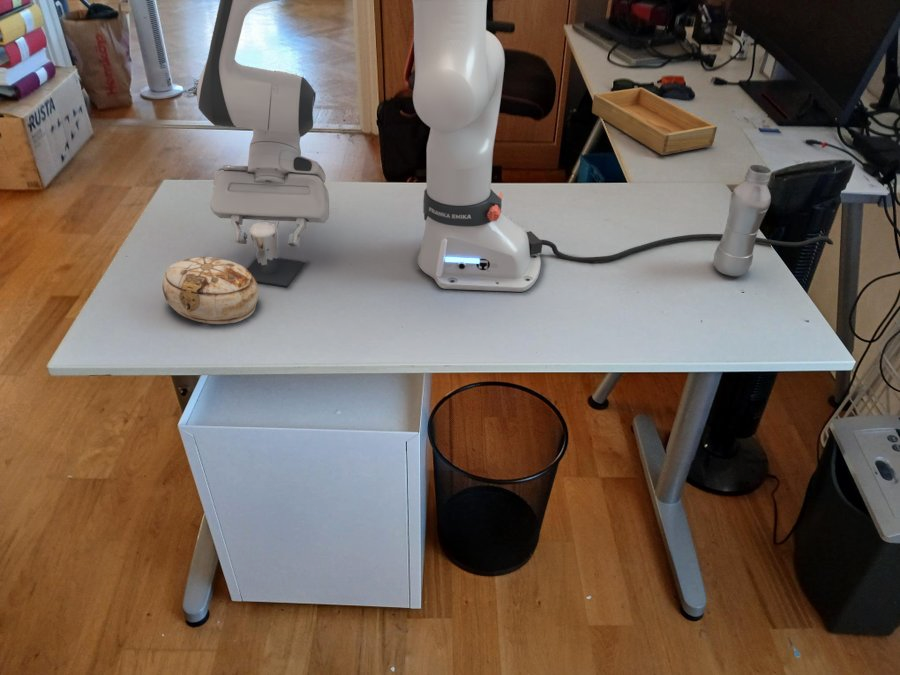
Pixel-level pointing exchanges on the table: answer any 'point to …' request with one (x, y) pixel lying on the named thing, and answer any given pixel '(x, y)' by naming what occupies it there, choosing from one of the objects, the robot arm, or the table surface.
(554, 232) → the table surface
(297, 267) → the mat
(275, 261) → the milkshake
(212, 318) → the trinket box
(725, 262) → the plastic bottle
